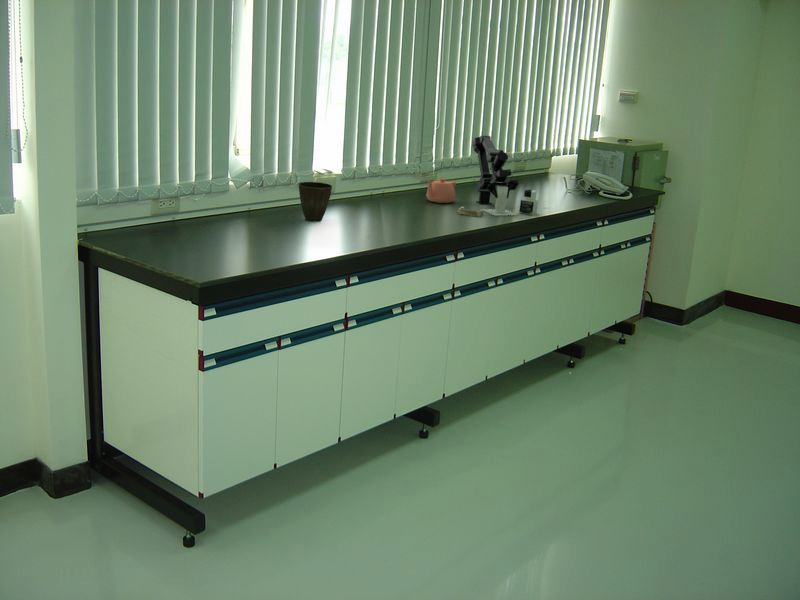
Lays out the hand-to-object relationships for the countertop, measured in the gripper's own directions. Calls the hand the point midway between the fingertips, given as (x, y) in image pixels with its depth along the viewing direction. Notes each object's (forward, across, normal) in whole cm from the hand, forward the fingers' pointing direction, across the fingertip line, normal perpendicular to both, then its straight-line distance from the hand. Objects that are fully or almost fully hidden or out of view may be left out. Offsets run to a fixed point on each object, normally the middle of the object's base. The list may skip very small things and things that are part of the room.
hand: (502, 197), depth 429 cm
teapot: (-14, -24, +26) cm, 38 cm away
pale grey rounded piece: (+5, 0, +5) cm, 7 cm away
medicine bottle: (+4, +16, +8) cm, 18 cm away
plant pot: (+24, -99, -13) cm, 103 cm away
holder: (+8, -17, +3) cm, 19 cm away
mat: (+5, 0, +6) cm, 8 cm away
